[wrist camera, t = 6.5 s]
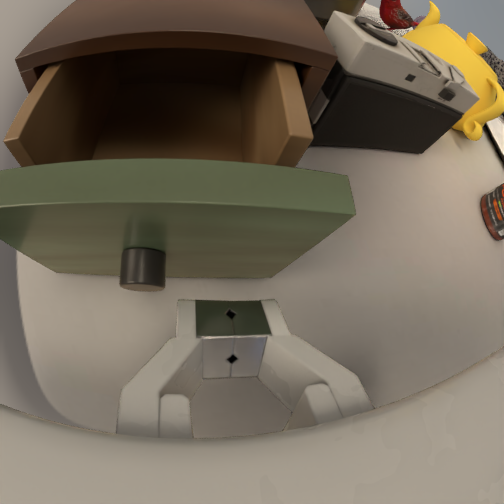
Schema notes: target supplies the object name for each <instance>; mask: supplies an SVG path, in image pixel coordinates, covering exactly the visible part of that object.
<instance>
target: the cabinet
mask: <svg viewBox="0 0 504 504" xmlns="http://www.w3.org/2000/svg"><path fill="white" fill-rule="evenodd" d="M147 48H199V49H215V50H226V51H236V52H244V53H251V54H258V55H264V56H270V57H275V58H280V59H285V60H290V61H294V65H295V68H296V71H297V75H298V78H299V82H300V85H301V89H302V93H303V96H304V100H305V104H306V108H307V111H308V109H309V108H310V106H311V104H312V102H313V100H314V99H315V97H316V95H317V93H318V91H319V90H320V88H321V86H322V84H323V83H324V81H325V79H326V77H327V75H328V74H329V71H330V70H331V69H332V67H333V65H334V64H335V62H336V60H337V58H338V55H337V54H336V52H335V50H334V48H333V46H332V45H331V43H330V41H329V39H328V38H327V36H326V34H325V32H324V31H323V29H322V27H321V26H320V24H319V23H318V21H317V19H316V18H315V16H314V15H313V13H312V12H311V10H310V9H309V7H308V6H307V4H306V3H305V1H304V0H76V1H75V2H73V3H72V4H71V5H70V6H68V7H67V8H66V9H65V10H63V11H62V12H61V13H60V14H59V15H58V16H57V17H55V18H54V19H53V20H52V21H51V22H50V23H49V24H48V25H47V26H46V27H45V28H44V29H43V30H42V31H41V32H40V33H39V34H38V35H37V36H36V37H35V38H34V39H33V40H32V41H31V42H30V43H29V44H28V45H27V46H26V47H25V48H24V49H23V50H22V52H21V53H20V54H19V55H18V56H17V57H16V59H15V61H16V63H17V66H18V69H19V71H20V74H21V77H22V79H23V82H24V84H25V86H26V89H27V91H28V93H30V92H31V90H32V89H33V87H34V86H35V84H36V83H37V81H38V80H39V78H40V77H41V75H42V74H43V73H44V71H45V70H46V69H47V67H48V66H49V65H50V63H52V62H56V61H60V60H65V59H69V58H74V57H79V56H85V55H91V54H97V53H104V52H112V51H121V50H132V49H147Z"/></svg>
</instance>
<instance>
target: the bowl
mask: <svg viewBox="0 0 504 504" xmlns="http://www.w3.org/2000/svg"><path fill="white" fill-rule="evenodd" d="M486 48H487V49H488V51H487V52H485V53H482V54H479V55H480V56H481V57H482V58H483V59H484V60H485V61H486V63H487V64H488V65H489V66H490V67H491V68H492V70H493V71H494V72H495V74H496V75H497V78H498V84H499V85H500V86H501V87H502V89H503V91H504V61H503V60H500V59H498V58H497V57H496V56H495V55H494V54H493V53H492V51H491V50H490V49H489V48H488V47H487V46H486ZM496 99H497V93H496V98H495V101H496ZM503 113H504V112H503Z"/></svg>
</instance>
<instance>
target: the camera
mask: <svg viewBox="0 0 504 504" xmlns="http://www.w3.org/2000/svg"><path fill="white" fill-rule="evenodd" d="M324 32H325V34H326V36H327V38H328V39H329V41H330V43H331V45H332V46H333V48H334V50H335V52H336V54H337V55H338V58H337V60H336V62H335V64H334V65H333V67H332V69H331V70H330V71H329V74H328V75H327V77H326V79H325V81H324V83H323V84H322V86H321V88H320V90H319V91H318V93H317V95H316V97H315V99H314V100H313V102H312V104H311V106H310V108H309V109H308V111H307V112H308V116H309V120H310V124H311V128H312V132H313V140H312V142H311V143H310V145H334V146H353V147H367V148H379V149H389V150H398V151H406V152H414V153H421V154H422V153H423V152H424V151H425V150H426V149H428V148H429V147H430V146H431V145H432V144H433V143H434V142H436V141H437V140H438V139H439V138H440V137H441V136H442V135H443V134H445V133H446V132H447V131H448V130H449V129H450V128H451V127H452V126H454V125H455V124H456V123H457V122H458V121H459V120H460V119H461V118H462V117H463V116H464V115H465V113H466V112H467V111H468V110H469V109H470V108H471V107H472V106H473V105H474V104H475V103H476V102H477V101H478V100H480V98H479V97H478V95H477V94H476V93H475V91H474V90H473V89H472V87H471V86H470V85H469V83H468V82H467V81H466V80H465V78H464V77H465V76H464V75H463V73H462V72H461V71H460V70H459V69H458V68H457V67H456V66H454V65H451V64H449V63H448V62H446V61H445V60H443V59H441V58H440V57H438V56H437V55H435V54H433V53H431V52H430V51H428V50H426V49H424V48H423V47H421V46H419V45H417V44H415V43H413V42H411V41H409V40H407V39H405V38H403V37H401V36H399V35H397V34H395V33H393V32H391V31H388V30H386V29H385V28H384V27H382V26H381V25H379V24H378V23H376V22H374V21H372V20H370V19H367V18H364V17H353V16H350V15H347V14H344V13H341V12H338V11H334V12H333V13H332V15H331V17H330V19H329V21H328V23H327V25H326V27H325V29H324ZM462 115H463V116H462Z"/></svg>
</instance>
